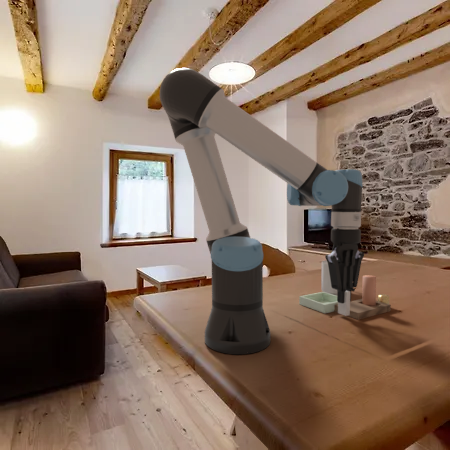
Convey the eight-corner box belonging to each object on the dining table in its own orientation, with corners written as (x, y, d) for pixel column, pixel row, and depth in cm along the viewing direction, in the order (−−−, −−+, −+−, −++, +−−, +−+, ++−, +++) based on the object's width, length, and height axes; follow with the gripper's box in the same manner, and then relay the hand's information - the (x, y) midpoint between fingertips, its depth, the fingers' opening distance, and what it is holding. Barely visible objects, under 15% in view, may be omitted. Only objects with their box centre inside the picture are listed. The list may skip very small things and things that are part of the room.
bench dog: (384, 310, 94) (385, 297, 94) (375, 308, 97) (375, 295, 97) (391, 309, 96) (391, 296, 96) (381, 306, 99) (382, 293, 98)
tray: (324, 315, 91) (324, 304, 91) (299, 305, 100) (299, 296, 100) (348, 309, 96) (349, 299, 96) (322, 300, 105) (323, 291, 105)
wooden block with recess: (357, 324, 86) (357, 313, 86) (334, 315, 93) (334, 305, 93) (390, 315, 93) (390, 304, 93) (366, 307, 100) (366, 297, 100)
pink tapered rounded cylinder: (370, 313, 91) (370, 278, 91) (359, 309, 95) (359, 276, 94) (378, 311, 93) (378, 276, 93) (367, 307, 96) (368, 274, 96)
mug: (342, 298, 108) (343, 265, 107) (317, 294, 113) (317, 262, 113) (354, 291, 117) (354, 260, 116) (330, 287, 122) (330, 258, 122)
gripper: (340, 229, 80) (338, 322, 82) (373, 228, 87) (371, 314, 88) (317, 227, 87) (316, 313, 88) (350, 226, 93) (348, 306, 95)
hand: (343, 313), depth 88 cm, fingers closed
